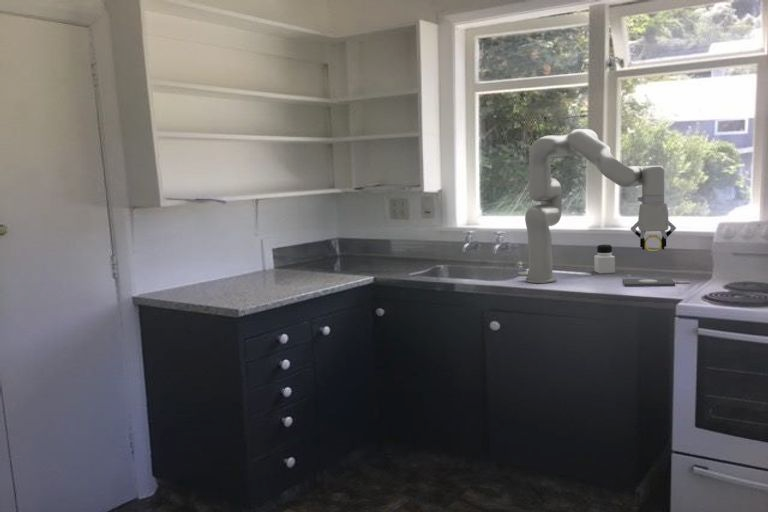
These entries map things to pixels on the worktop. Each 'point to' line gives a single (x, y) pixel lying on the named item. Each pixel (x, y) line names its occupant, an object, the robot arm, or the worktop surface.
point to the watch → (656, 237)
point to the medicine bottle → (604, 260)
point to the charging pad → (652, 282)
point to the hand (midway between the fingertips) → (653, 248)
